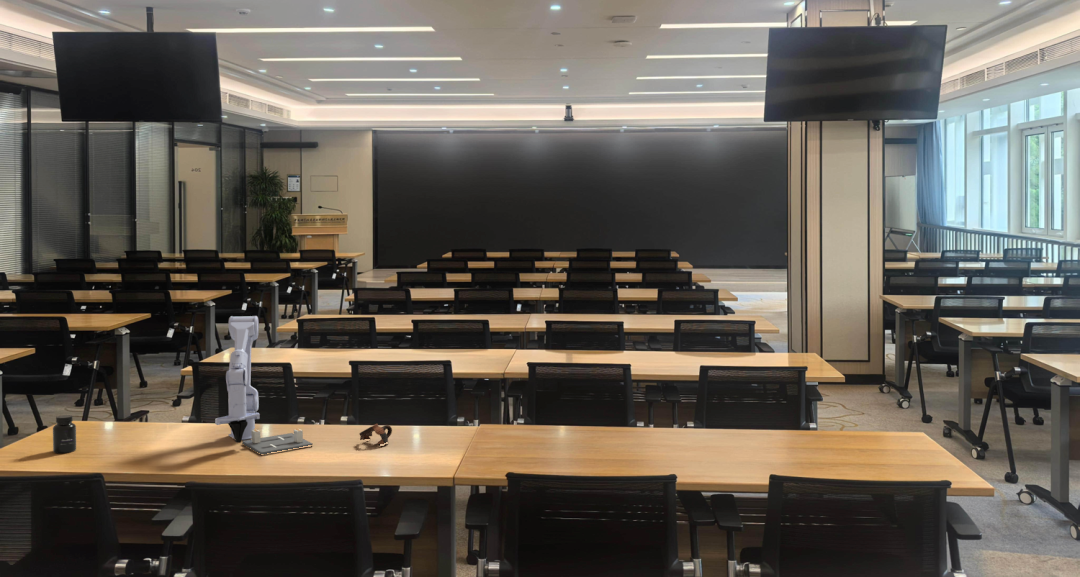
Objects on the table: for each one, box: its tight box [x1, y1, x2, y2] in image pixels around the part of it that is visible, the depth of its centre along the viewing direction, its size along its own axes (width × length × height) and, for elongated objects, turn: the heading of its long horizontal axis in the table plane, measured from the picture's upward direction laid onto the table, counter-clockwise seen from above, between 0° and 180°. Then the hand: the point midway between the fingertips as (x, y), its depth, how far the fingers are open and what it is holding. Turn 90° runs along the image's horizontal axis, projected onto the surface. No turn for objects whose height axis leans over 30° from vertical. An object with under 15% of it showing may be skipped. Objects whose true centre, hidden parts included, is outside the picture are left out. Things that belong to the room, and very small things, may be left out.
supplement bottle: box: [52, 414, 77, 455], centre depth 277 cm, size 7×7×12 cm
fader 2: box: [293, 428, 304, 443], centre depth 287 cm, size 3×2×4 cm, turn 40°
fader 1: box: [251, 428, 261, 443], centre depth 285 cm, size 3×2×4 cm, turn 40°
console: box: [241, 432, 313, 454], centre depth 286 cm, size 18×18×1 cm
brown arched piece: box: [358, 423, 393, 445], centre depth 290 cm, size 12×10×8 cm
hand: (238, 442), depth 281 cm, fingers closed
